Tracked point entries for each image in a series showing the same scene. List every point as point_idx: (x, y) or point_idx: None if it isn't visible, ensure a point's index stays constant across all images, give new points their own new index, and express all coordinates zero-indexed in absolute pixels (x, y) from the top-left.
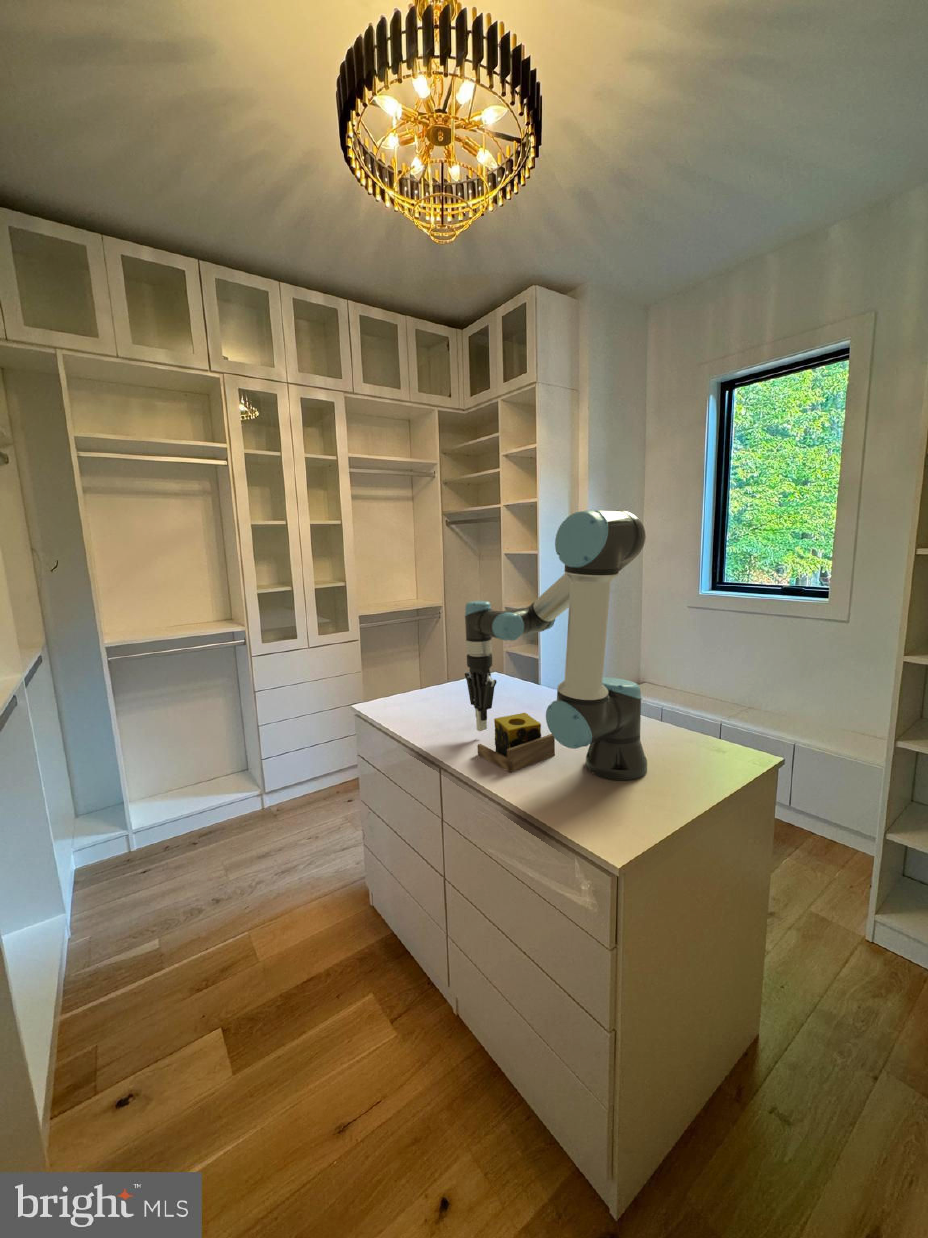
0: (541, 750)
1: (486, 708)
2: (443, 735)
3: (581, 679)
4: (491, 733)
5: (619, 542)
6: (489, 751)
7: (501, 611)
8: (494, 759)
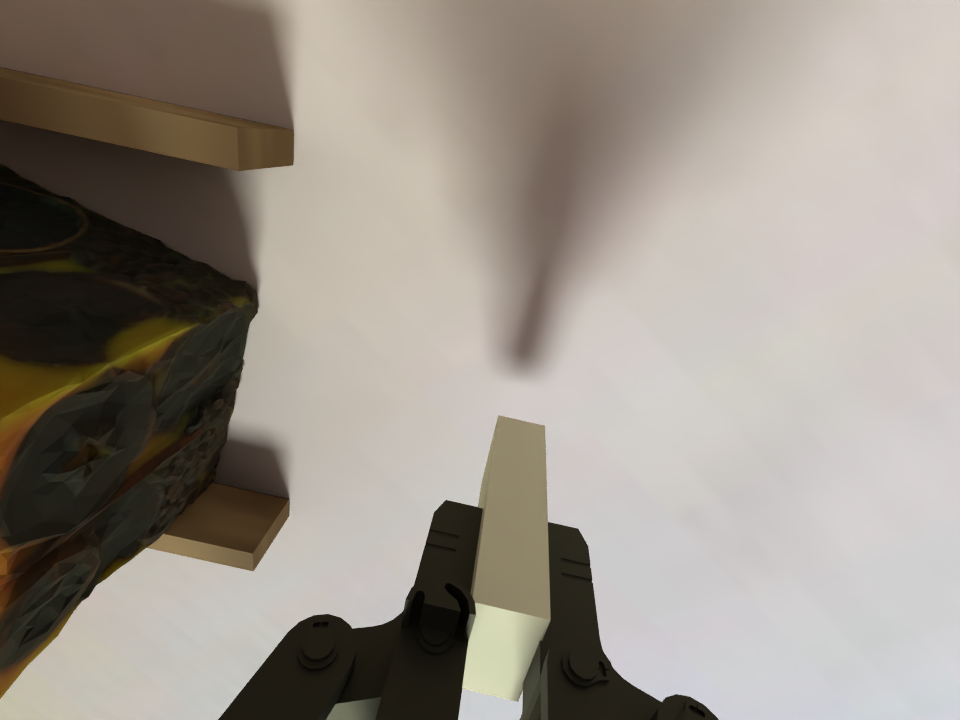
0: None
1: (281, 657)
2: (883, 266)
3: None
4: None
5: None
6: (25, 82)
7: None
8: (5, 72)
